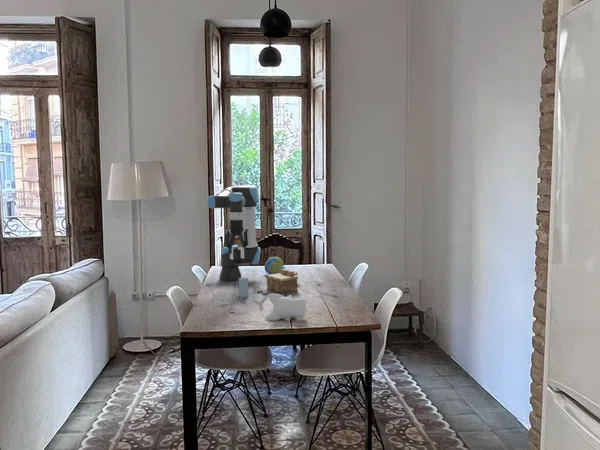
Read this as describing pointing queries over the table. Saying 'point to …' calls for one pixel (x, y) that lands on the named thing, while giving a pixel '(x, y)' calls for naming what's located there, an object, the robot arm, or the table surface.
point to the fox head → (286, 307)
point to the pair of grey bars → (263, 292)
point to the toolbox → (282, 285)
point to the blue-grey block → (243, 287)
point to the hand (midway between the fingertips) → (237, 258)
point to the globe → (274, 265)
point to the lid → (283, 275)
